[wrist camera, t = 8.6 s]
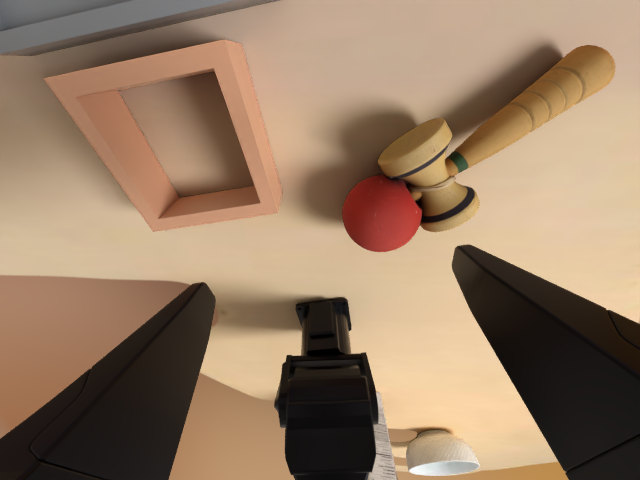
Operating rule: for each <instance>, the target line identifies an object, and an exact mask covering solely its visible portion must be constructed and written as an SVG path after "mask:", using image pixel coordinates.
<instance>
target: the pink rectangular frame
mask: <svg viewBox="0 0 640 480" xmlns="http://www.w3.org/2000/svg"><path fill="white" fill-rule="evenodd" d="M213 71H215V73H216V76H217V79H218V82H219V85H220V87H221V90H222V93H223V96H224V99H225V102H226V105H227V108H228V110H229V113H230V116H231V119H232V122H233V125H234V128H235V131H236V133H237V136H238V139H239V142H240V145H241V148H242V151H243V153H244V156H245V159H246V162H247V165H248V168H249V171H250V174H251V176H252V179H253V182H254V185H255V186H250V187H244V188H238V189H232V190H226V191H219V192H213V193H207V194H201V195H195V196H188V197H182V198H179V196H178V195H177V193H176V191H175V190H174V188H173V186H172V184H171V183H170V181H169V179H168V177H167V176H166V174H165V172H164V170H163V169H162V167H161V165H160V163H159V162H158V160H157V158H156V156H155V155H154V153H153V151H152V149H151V148H150V146H149V144H148V142H147V141H146V139H145V137H144V135H143V134H142V132H141V130H140V128H139V127H138V125H137V123H136V121H135V120H134V118H133V116H132V115H131V113H130V111H129V109H128V108H127V106H126V104H125V102H124V101H123V99H122V97H121V95H120V94H119V92H118V91H120V90H125V89H130V88H134V87H139V86H144V85H149V84H154V83H159V82H164V81H169V80H174V79H178V78H183V77H188V76H193V75H198V74H203V73H208V72H213ZM44 80H45V81H46V83H47V84H48V85H49V87H50V88H51V90H52V91H53V92H54V94H55V95H56V97H57V98H58V99H59V101H60V102H61V104H62V105H63V106H64V108H65V109H66V111H67V112H68V113H69V115H70V116H71V118H72V119H73V120H74V122H75V123H76V125H77V126H78V127H79V129H80V130H81V132H82V133H83V134H84V136H85V137H86V139H87V140H88V141H89V143H90V144H91V146H92V147H93V148H94V150H95V151H96V153H97V154H98V155H99V157H100V158H101V160H102V161H103V162H104V164H105V165H106V167H107V168H108V169H109V171H110V172H111V173H112V175H113V176H114V178H115V179H116V180H117V182H118V183H119V185H120V186H121V187H122V189H123V190H124V192H125V193H126V194H127V196H128V197H129V199H130V200H131V201H132V203H133V204H134V206H135V207H136V208H137V210H138V211H139V213H140V214H141V215H142V217H143V218H144V220H145V221H146V222H147V224H148V225H149V227H150V228H151V229H152V231H153V232H155V231H162V230H168V229H175V228H182V227H188V226H195V225H202V224H208V223H215V222H222V221H228V220H235V219H242V218H248V217H255V216H261V215H268V214H275V213H278V211H279V206H280V202H281V198H282V194H283V191H282V187H281V184H280V180H279V177H278V173H277V169H276V166H275V162H274V158H273V155H272V151H271V148H270V144H269V140H268V137H267V133H266V129H265V126H264V122H263V119H262V115H261V111H260V108H259V104H258V101H257V97H256V93H255V90H254V86H253V82H252V79H251V75H250V72H249V68H248V64H247V61H246V57H245V54H244V50H243V46H242V44H239V43H236V42H232V41H228V40H225V39H224V40H219V41H215V42H210V43H205V44H201V45H196V46H191V47H187V48H182V49H177V50H173V51H168V52H163V53H159V54H154V55H150V56H145V57H140V58H136V59H131V60H126V61H122V62H117V63H112V64H108V65H103V66H98V67H94V68H89V69H84V70H80V71H75V72H70V73H66V74H61V75H56V76H52V77H47V78H44Z"/></svg>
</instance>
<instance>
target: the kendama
mask: <svg viewBox="0 0 640 480" xmlns="http://www.w3.org/2000/svg"><path fill="white" fill-rule="evenodd" d="M614 74H615V62H614V59H613V57H612V56H611V55H610V53H609V52H608V51H606V50H605V49H603V48H601V47H597V46H592V45H586V46H581V47H578V48H576V49H574V50H572V51H571V52H570V53H568V54H567V55H566V56H565V57H564V58H563V59H561V60H560V61H559V62H558V63H557V64H556V65H554V66H553V67H552V68H551V69H550V70H549V71H548V72H547V73H545V74H544V75H543V76H541V77H540V78H539V79H538V80H537V81H536V82H534V83H533V84H532V85H531V86H529V87H528V88H527V89H526V90H525V91H523V92H522V93H521V94H520V95H519V96H517V97H516V98H515V99H513V100H512V101H511V102H510V103H509V104H507V106H505V107H504V108H502V109H501V110H500V111H499V112H497V113H496V114H495V115H494V116H492V117H491V118H490V119H489V120H488V121H486V122H485V123H484V124H483V125H482V126H481V127H479V128H478V129H477V130H476V131H475V132H474V133H473V134H472V135H471V136H469V137H468V138H467V139H466V140H465V141H464V142H463V143H462V144H461V145H460V146H459V147H458V148H456V150H455V151H453V152H452V153H451V154H450V155H449V156H448V157H447V158H446V159H445V154H446V149H447V147H448V145H449V142H450V140H451V138H452V133H451V131H450V129H449V127H448V125H447V123H446V121H445V120H444V119H443V118H436V119H432V120H429V121H427V122H425V123H422V124H420V125H418V126H417V127H415V128H413V129H412V130H410V131H408V132H407V133H405V134H404V135H402V136H401V137H400V138H398V139H397V140H395V141H394V142H393V143H392V144H391V145H389V146H388V147H387V148H386V149H385V150H384V151H383V152H382V154H381V155H380V157H379V159H378V164H379V166H380V167H381V169H382V171H383V172H384V175H377V176H372V177H369V178H367V179H364V180H363V181H361V182H359V183H358V184H357V185H356V186H355V187H354V188H353V189H352V190H351V191H350V192H349V194H348V196H347V197H346V200H345V202H344V205H343V211H342V215H343V222H344V226H345V229H346V231H347V233H348V234H349V236H350V237H351V239H352V240H353V241H354V242H355V243H357V244H358V245H359V246H361V247H363V248H365V249H367V250H370V251H375V252H387V251H391V250H395V249H397V248H399V247H401V246H403V245H405V244H406V243H407V242H408V241H409V240H410V239H411V238H412V237H413V236H414V235H415V233H416V231H417V230H418V227H419V226H420V225H421V227H422V228H423V229H425V230H427V231H430V232H440V231H446V230H450V229H453V228H455V227H458V226H460V225H461V224H463V223H465V222H467V221H468V220H469V219H470V218H472V217H473V216H474V215H475V213H476V212H477V210H478V208H479V199H478V196H477V194H476V192H475V190H474V189H472V188H470V187H467V186H462V185H460V184H458V183H456V182H455V179H456V178H455V175H456V174H458V173H460V172H462V171H463V170H465V169H467V168H469V167H471V166H473V165H475V164H477V163H479V162H481V161H482V160H484V159H486V158H488V157H490V156H492V155H494V154H495V153H497V152H499V151H501V150H502V149H504V148H506V147H507V146H509V145H511V144H512V143H514V142H516V141H517V140H519V139H521V138H522V137H524V136H525V135H527V134H528V133H529V132H532V131H533V130H535V129H536V128H538V127H540V126H541V125H543V124H544V123H546V122H548V121H549V120H551V119H553V118H554V117H556V116H557V115H559V114H560V113H562V112H564V111H566V110H567V109H569V108H570V107H572V106H573V105H575V104H577V103H579V102H581V101H582V100H584V99H586V98H587V97H589V96H591V95H593V94H594V93H596V92H598V91H599V90H601V89H602V88H604V87H605V86H606V85H608V84H609V83H610V81H611V80H612V78H613V77H614Z"/></svg>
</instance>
